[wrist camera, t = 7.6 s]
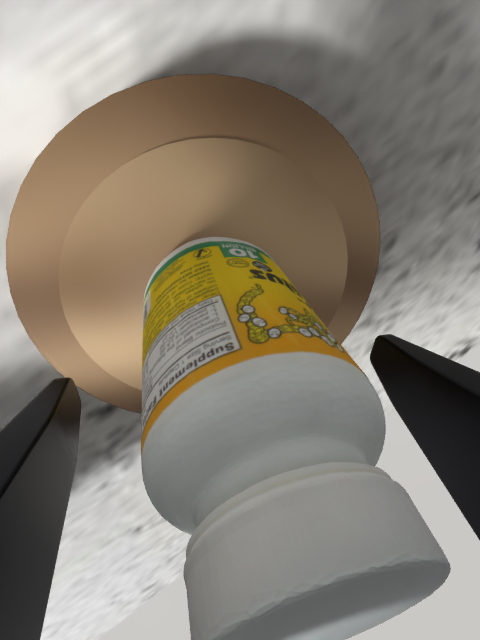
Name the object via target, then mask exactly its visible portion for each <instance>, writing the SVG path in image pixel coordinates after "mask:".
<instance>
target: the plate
mask: <svg viewBox="0 0 480 640" xmlns="http://www.w3.org/2000/svg"><path fill="white" fill-rule="evenodd" d="M207 237H227V238H233V239H237V240H242V241H246V242H248V243H251V244H253V245H255V246H257V247H259V248H261V249H262V250H263V251H264V252H266V253H267V254H268V255H269V256H270V257H271V258H272V259H273V260H274V262H275V263H276V264H277V265H278V266H279V267H280V269H281V270H282V271H283V273H284V274H285V275H286V276H287V278H288V279H289V280H290V282H291V283H292V284H293V285H294V287H295V288H296V289H297V290H298V291H299V293H300V294H301V295H302V297H303V298H304V299H305V301H306V302H307V303H308V304H309V305H310V307H311V308H312V309H313V311H314V312H315V313H316V315H317V316H318V317H319V319H320V320H321V321H322V322H323V323H324V325H325V326H326V327H327V329H328V330H329V331H330V332H331V334H332V335H333V336H334V337H335V338H336V340H337V341H338V342H339V343H340V344H342V343H343V341H344V340H345V339H346V337H347V336H348V335H349V333H350V332H351V330H352V329H353V327H354V325H355V324H356V322H357V321H358V319H359V317H360V315H361V313H362V311H363V309H364V307H365V305H366V303H367V301H368V298H369V295H370V292H371V289H372V286H373V284H374V279H375V275H376V271H377V266H378V260H379V250H380V223H379V217H378V211H377V205H376V200H375V197H374V194H373V190H372V187H371V184H370V181H369V178H368V176H367V174H366V172H365V170H364V168H363V166H362V164H361V162H360V160H359V158H358V157H357V155H356V154H355V152H354V151H353V150H352V148H351V147H350V145H349V144H348V143H347V141H346V140H345V138H344V137H343V136H342V135H341V134H340V133H339V132H338V131H337V130H336V129H335V128H334V127H333V126H332V125H331V124H330V123H329V122H328V121H327V120H326V119H325V118H324V117H323V116H322V115H320V114H319V113H317V112H316V111H315V110H313V109H312V108H311V107H309V106H308V105H307V104H305V103H304V102H302V101H301V100H299V99H297V98H295V97H293V96H291V95H289V94H287V93H285V92H283V91H281V90H279V89H277V88H275V87H271V86H268V85H265V84H262V83H259V82H255V81H252V80H249V79H246V78H239V77H232V76H224V75H217V74H194V75H176V76H171V77H166V78H161V79H156V80H151V81H146V82H143V83H140V84H138V85H135V86H132V87H130V88H127V89H125V90H122V91H119V92H117V93H114V94H112V95H110V96H108V97H107V98H105V99H103V100H102V101H100V102H98V103H97V104H95V105H93V106H92V107H90V108H88V109H87V110H85V111H83V112H82V113H81V114H79V115H78V116H77V117H76V118H75V119H74V120H72V121H71V122H70V123H69V124H68V125H67V126H65V127H64V128H63V129H62V130H61V131H60V132H58V133H57V134H56V135H55V137H54V138H53V139H52V140H51V142H50V143H49V144H48V145H47V146H46V148H45V149H44V150H43V151H42V152H41V154H40V155H39V156H38V157H37V158H36V160H35V162H34V164H33V165H32V167H31V169H30V171H29V172H28V174H27V176H26V178H25V179H24V181H23V183H22V185H21V187H20V190H19V192H18V195H17V198H16V201H15V204H14V206H13V209H12V212H11V216H10V222H9V228H8V234H7V240H6V270H7V275H8V281H9V287H10V293H11V296H12V299H13V302H14V305H15V308H16V311H17V313H18V316H19V318H20V320H21V322H22V324H23V326H24V328H25V330H26V332H27V334H28V335H29V337H30V339H31V340H32V341H33V343H34V344H35V346H36V347H37V348H38V350H39V351H40V352H41V354H42V355H43V356H44V357H45V358H46V359H47V361H48V362H49V363H50V364H51V365H52V366H53V367H54V368H55V369H56V370H57V371H58V372H59V373H61V374H62V375H63V376H64V377H70V378H72V379H73V381H74V383H75V385H76V386H77V387H79V388H81V389H82V390H84V391H86V392H87V393H89V394H90V395H92V396H94V397H96V398H98V399H100V400H102V401H105V402H107V403H109V404H111V405H114V406H117V407H120V408H123V409H125V410H128V411H133V412H137V413H141V414H142V344H143V306H144V295H145V290H146V287H147V284H148V282H149V279H150V277H151V276H152V274H153V272H154V270H155V269H156V267H157V266H158V265H159V263H160V262H161V261H162V260H163V259H164V258H165V257H166V256H168V255H169V254H170V253H171V252H173V251H174V250H175V249H177V248H179V247H180V246H182V245H184V244H186V243H188V242H190V241H193V240H196V239H201V238H207Z"/></svg>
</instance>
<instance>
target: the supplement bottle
mask: <svg viewBox="0 0 480 640" xmlns="http://www.w3.org/2000/svg"><path fill="white" fill-rule="evenodd" d="M384 440H385V416H384V411H383V407H382V404H381V401H380V399H379V397H378V394H377V392H376V391H375V389H374V387H373V386H372V384H371V382H370V381H369V379H368V378H367V376H366V375H365V374H364V372H363V371H362V370H361V369H360V368H359V366H358V365H357V364H356V363H355V362H354V361H353V359H352V358H351V357H350V356H349V354H348V353H347V352H346V351H345V349H344V348H343V347H342V346H341V344H340V343H339V342H338V341H337V340H336V338H335V337H334V336H333V335H332V334H331V332H330V331H329V330H328V329H327V327H326V326H325V325H324V323H323V322H322V321H321V320H320V319H319V317H318V316H317V315H316V313H315V312H314V311H313V309H312V308H311V307H310V305H309V304H308V303H307V302H306V301H305V299H304V298H303V297H302V295H301V294H300V293H299V291H298V290H297V289H296V288H295V287H294V285H293V284H292V283H291V282H290V280H289V279H288V278H287V276H286V275H285V274H284V273H283V271H282V270H281V269H280V267H279V266H278V265H277V264H276V263H275V262H274V260H273V259H272V258H271V257H270V256H269V255H268V254H267V253H266V252H264V251H263V250H262V249H261V248H259V247H257V246H255V245H253V244H251V243H248V242H246V241H242V240H237V239H233V238H227V237H207V238H201V239H196V240H193V241H190V242H188V243H186V244H184V245H182V246H180V247H179V248H177V249H175V250H174V251H173V252H171V253H170V254H169V255H168V256H166V257H165V258H164V259H163V260H162V261H161V262H160V263H159V265H158V266H157V267H156V269H155V270H154V272H153V274H152V276H151V277H150V279H149V282H148V284H147V287H146V290H145V295H144V306H143V344H142V421H141V461H142V474H143V481H144V485H145V488H146V491H147V494H148V496H149V498H150V500H151V502H152V504H153V505H154V507H155V508H156V510H157V511H158V512H159V513H160V514H161V516H162V517H163V518H165V519H166V520H167V521H168V522H169V523H171V524H172V525H173V526H175V527H176V528H178V529H180V530H181V531H183V532H186V533H188V534H190V535H192V536H191V538H190V540H189V543H188V545H187V549H186V562H185V565H184V580H185V584H186V589H187V598H188V610H189V621H190V631H191V640H345V639H348V638H350V637H352V636H355V635H357V634H359V633H361V632H364V631H366V630H368V629H370V628H372V627H374V626H377V625H379V624H381V623H383V622H385V621H387V620H389V619H391V618H392V617H394V616H396V615H398V614H400V613H402V612H404V611H405V610H407V609H408V608H410V607H412V606H414V605H415V604H417V603H419V602H420V601H422V600H423V599H425V598H426V597H428V596H430V595H431V594H432V593H433V592H434V591H435V590H437V589H438V588H439V587H440V586H441V585H442V584H443V583H444V582H445V580H446V579H447V577H448V575H449V573H450V564H449V562H448V560H447V558H446V556H445V554H444V552H443V550H442V549H441V547H440V546H439V544H438V542H437V541H436V539H435V538H434V536H433V534H432V533H431V531H430V529H429V528H428V526H427V525H426V523H425V521H424V520H423V518H422V516H421V515H420V513H419V512H418V510H417V508H416V507H415V505H414V503H413V502H412V500H411V498H410V496H409V495H408V493H407V492H406V490H405V489H404V488H403V487H402V486H401V485H400V484H399V483H397V482H395V481H393V480H392V479H391V477H390V476H389V475H388V474H387V473H386V472H384V471H383V470H382V469H380V468H378V467H375V465H376V464H377V461H378V459H379V457H380V454H381V452H382V449H383V445H384Z"/></svg>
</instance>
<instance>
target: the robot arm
mask: <svg viewBox="0 0 480 640" xmlns="http://www.w3.org/2000/svg"><path fill="white" fill-rule="evenodd" d="M370 361H371V364H372V366H373V368H374V369H375V371H376V373H377V375H378V377H379V379H380V381H381V383H382V385H383V387H384V389H385V391H386V393H387V395H388V397H389V399H390V401H391V402H392V404H393V406H394V407H395V409H396V411H397V412H398V414H399V415H400V417H401V418H402V420H403V422H404V423H405V425H406V426H407V428H408V429H409V431H410V432H411V434H412V436H413V437H414V439H415V440H416V442H417V443H418V445H419V447H420V448H421V449H422V451H423V453H424V454H425V456H426V457H427V459H428V461H429V462H430V463H431V465H432V467H433V468H434V470H435V471H436V473H437V474H438V476H439V478H440V479H441V481H442V482H443V484H444V485H445V487H446V489H447V490H448V491H449V493H450V495H451V496H452V498H453V499H454V501H455V502H456V504H457V506H458V507H459V509H460V510H461V512H462V513H463V515H464V517H465V518H466V520H467V521H468V523H469V524H470V526H471V527H472V529H473V531H474V532H475V534H476V535H477V537H478V538H479V540H480V372H478V371H475V370H473V369H471V368H468V367H466V366H464V365H461V364H459V363H457V362H454V361H452V360H450V359H447V358H445V357H443V356H440V355H438V354H436V353H433V352H431V351H429V350H426V349H424V348H422V347H419V346H417V345H415V344H412V343H410V342H408V341H405V340H403V339H401V338H398V337H396V336H394V335H391V334H386V335H380V336H378V337H377V338H376V339H375V342H374V345H373V348H372V351H371V354H370ZM80 414H81V400H80V397H79V394H78V391H77V389H76V386H75V383H74V381H73V379H72V378H70V377H66V378H59V379H54V380H53V381H51V382H50V383H49V384H48V385H47V386H46V387H45V388H44V389H43V390H42V391H41V392H40V393H39V394H38V395H37V396H36V397H35V398H34V399H33V400H32V401H31V402H30V403H29V404H28V405H27V406H26V407H25V408H24V409H23V410H22V411H21V412H20V413H19V414H18V415H16V416H15V417H14V418H13V419H12V420H11V421H10V422H9V423H8V424H7V425H6V426H5V427H4V428H3V429H2V430H1V431H0V640H40V637H41V632H42V627H43V622H44V617H45V613H46V608H47V603H48V598H49V593H50V588H51V584H52V579H53V574H54V569H55V564H56V559H57V555H58V550H59V545H60V540H61V535H62V530H63V525H64V521H65V516H66V511H67V506H68V501H69V496H70V492H71V487H72V482H73V477H74V472H75V467H76V461H77V451H78V439H79V426H80Z"/></svg>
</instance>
